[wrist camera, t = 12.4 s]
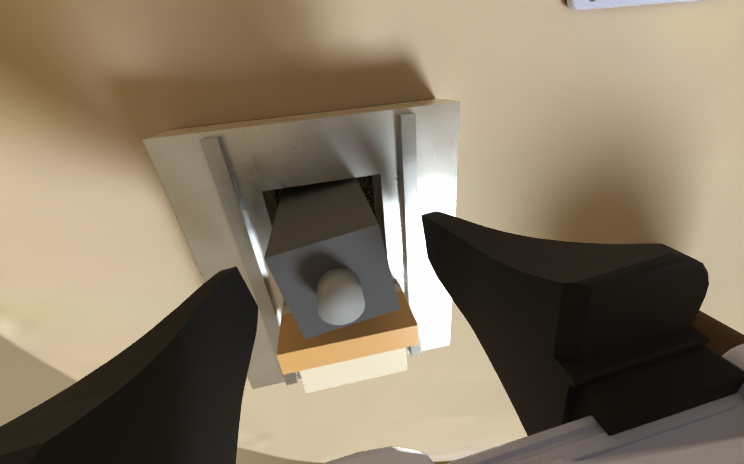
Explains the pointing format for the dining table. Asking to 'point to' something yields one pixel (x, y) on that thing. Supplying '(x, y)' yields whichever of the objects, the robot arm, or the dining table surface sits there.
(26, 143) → the dining table surface
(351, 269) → the plug
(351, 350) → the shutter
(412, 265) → the socket
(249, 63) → the dining table surface
